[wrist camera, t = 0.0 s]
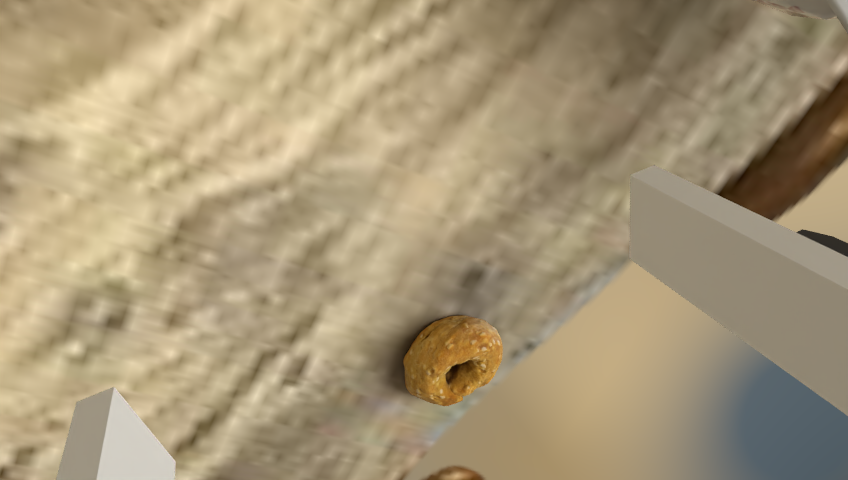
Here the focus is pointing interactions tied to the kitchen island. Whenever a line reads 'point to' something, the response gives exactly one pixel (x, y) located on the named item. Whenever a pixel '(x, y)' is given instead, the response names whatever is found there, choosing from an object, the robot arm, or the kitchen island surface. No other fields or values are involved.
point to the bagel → (452, 359)
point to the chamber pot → (812, 8)
